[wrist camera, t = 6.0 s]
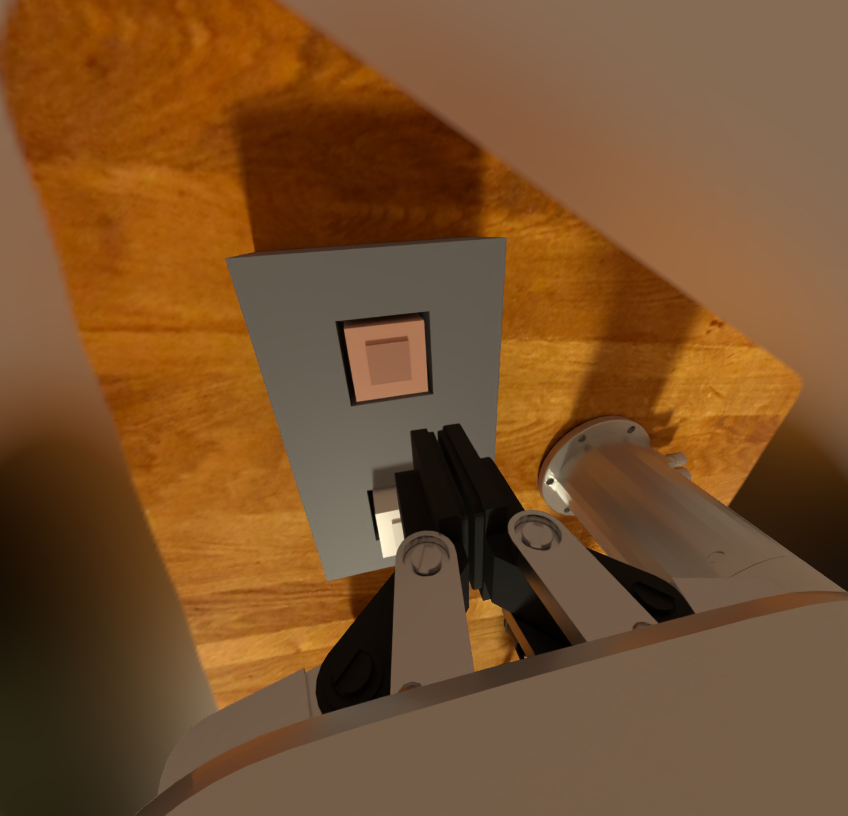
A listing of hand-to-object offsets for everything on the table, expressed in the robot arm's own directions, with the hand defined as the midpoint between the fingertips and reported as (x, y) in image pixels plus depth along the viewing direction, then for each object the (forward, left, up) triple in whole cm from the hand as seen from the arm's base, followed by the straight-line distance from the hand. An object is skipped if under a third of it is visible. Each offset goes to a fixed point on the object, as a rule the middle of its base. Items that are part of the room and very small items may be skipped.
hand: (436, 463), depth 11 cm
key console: (0, +6, -16) cm, 17 cm away
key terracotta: (0, 0, -12) cm, 12 cm away
